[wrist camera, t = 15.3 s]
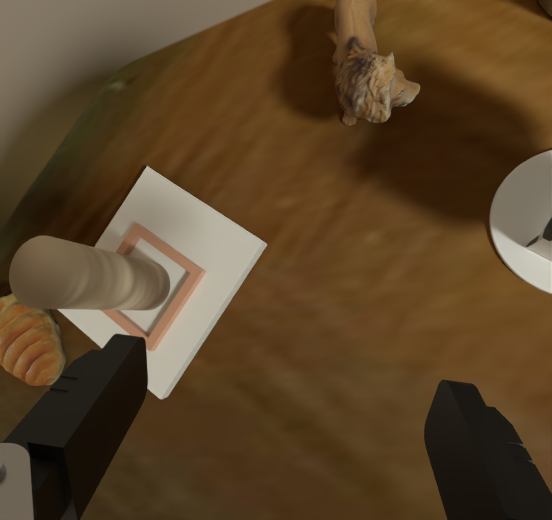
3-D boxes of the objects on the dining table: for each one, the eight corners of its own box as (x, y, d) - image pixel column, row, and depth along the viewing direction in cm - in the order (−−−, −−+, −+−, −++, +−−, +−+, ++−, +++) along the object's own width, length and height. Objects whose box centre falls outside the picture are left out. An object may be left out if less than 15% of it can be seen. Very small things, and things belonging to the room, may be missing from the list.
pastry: (87, 352, 37) (55, 356, 33) (41, 402, 37) (5, 411, 34) (37, 284, 40) (3, 280, 36) (-5, 331, 40) (-44, 332, 36)
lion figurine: (415, 144, 32) (430, 80, 24) (352, 164, 33) (344, 109, 25) (368, 1, 35) (367, -103, 27) (312, 23, 37) (293, -70, 28)
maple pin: (144, 252, 35) (36, 221, 24) (179, 279, 34) (84, 261, 23) (117, 292, 35) (-4, 281, 24) (151, 320, 34) (42, 323, 23)
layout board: (153, 170, 38) (142, 162, 36) (267, 244, 34) (261, 239, 32) (64, 307, 38) (48, 306, 36) (167, 396, 34) (155, 401, 32)
